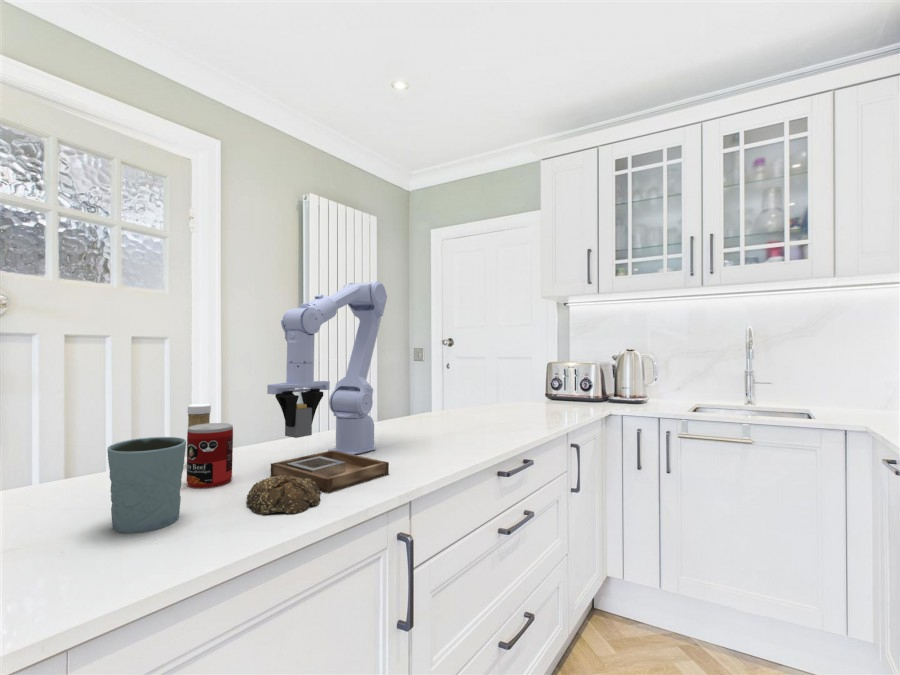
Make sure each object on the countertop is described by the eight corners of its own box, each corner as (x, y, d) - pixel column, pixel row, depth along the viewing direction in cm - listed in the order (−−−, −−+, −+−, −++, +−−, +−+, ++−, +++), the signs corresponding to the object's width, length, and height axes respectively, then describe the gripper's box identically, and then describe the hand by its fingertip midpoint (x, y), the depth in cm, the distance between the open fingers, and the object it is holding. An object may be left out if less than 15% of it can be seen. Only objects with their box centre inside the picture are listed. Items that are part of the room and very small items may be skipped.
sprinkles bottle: (212, 465, 105) (213, 404, 105) (190, 468, 102) (191, 406, 102) (206, 461, 108) (207, 402, 109) (183, 464, 105) (185, 404, 105)
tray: (332, 460, 110) (332, 450, 110) (388, 474, 100) (388, 462, 100) (270, 475, 97) (270, 463, 97) (327, 493, 87) (327, 479, 87)
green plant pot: (170, 506, 79) (171, 434, 79) (196, 521, 72) (197, 442, 73) (96, 523, 71) (98, 443, 71) (118, 542, 65) (120, 454, 65)
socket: (319, 465, 104) (319, 456, 104) (345, 471, 99) (345, 462, 99) (286, 473, 97) (286, 463, 97) (312, 480, 92) (312, 470, 92)
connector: (300, 433, 106) (300, 402, 106) (311, 435, 104) (311, 404, 104) (285, 435, 103) (285, 404, 103) (296, 437, 101) (296, 405, 101)
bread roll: (248, 495, 86) (249, 468, 86) (319, 489, 90) (319, 463, 90) (242, 521, 73) (243, 489, 73) (324, 513, 77) (325, 482, 78)
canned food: (177, 485, 91) (178, 427, 91) (215, 475, 98) (216, 421, 98) (203, 491, 87) (204, 431, 87) (240, 480, 94) (241, 424, 94)
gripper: (316, 361, 112) (315, 419, 112) (259, 362, 100) (258, 427, 100) (335, 362, 108) (334, 422, 107) (278, 364, 96) (277, 431, 96)
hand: (299, 425), depth 103 cm, fingers closed on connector, 4 cm apart
